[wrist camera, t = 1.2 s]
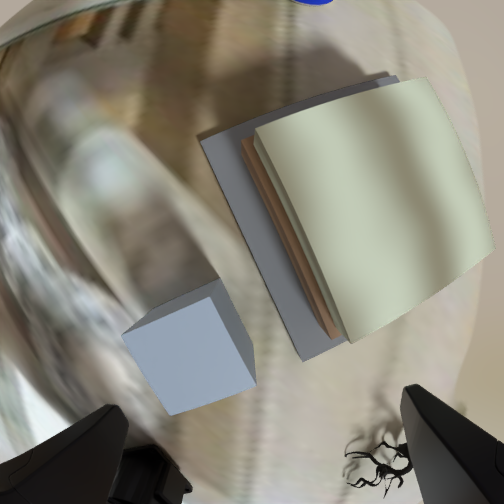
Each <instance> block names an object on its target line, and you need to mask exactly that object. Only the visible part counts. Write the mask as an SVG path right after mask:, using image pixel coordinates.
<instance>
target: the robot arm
mask: <svg viewBox="0 0 504 504" xmlns="http://www.w3.org/2000/svg"><path fill="white" fill-rule="evenodd" d="M400 411H401V416H402V421H403V426H404V430H405V435H406V440H407V446H408V450H409V455H410V458H411V462H412V465H413V468H414V471H415V474H416V477H417V481H418V484H419V487H420V491H421V494H422V498H423V501H424V504H504V444H503V443H502V442H501V441H497V439H496V438H495V437H493V436H492V435H490V434H489V433H487V432H486V431H484V430H483V429H482V428H480V427H479V426H477V425H476V424H474V423H473V422H471V421H470V420H469V419H467V418H466V417H464V416H463V415H461V414H460V413H458V412H457V411H456V410H454V409H453V408H451V407H450V406H448V405H447V404H446V403H444V402H443V401H441V400H440V399H438V398H437V397H436V396H434V395H433V394H431V393H430V392H428V391H427V390H426V389H424V388H423V387H421V386H420V385H418V384H412V385H409V386H405V387H404V388H403V392H402V398H401V404H400ZM128 427H129V423H128V420H127V418H126V417H125V415H124V414H123V412H122V410H121V409H120V407H119V406H118V405H115V404H106V405H104V406H103V407H101V408H99V409H98V410H96V411H95V412H93V413H91V414H90V415H88V416H87V417H85V418H83V419H82V420H80V421H78V422H77V423H75V424H73V425H72V426H70V427H68V428H67V429H65V430H63V431H62V432H60V433H58V434H56V435H55V436H53V437H51V438H50V439H48V440H46V441H44V442H43V443H41V444H39V445H37V446H36V447H34V448H32V449H30V450H28V451H27V452H25V453H23V454H21V455H19V456H17V457H15V458H13V459H11V460H8V461H6V462H4V463H1V464H0V504H181V503H182V499H183V494H186V493H191V492H192V490H193V487H192V486H191V485H190V484H189V483H188V482H187V480H186V479H185V478H184V477H183V476H182V475H181V474H180V472H179V471H178V470H177V469H176V468H175V467H174V466H173V464H171V462H170V461H169V460H168V459H167V458H166V457H165V455H164V454H163V453H162V452H161V450H160V449H159V448H158V447H157V446H155V445H147V446H142V447H137V448H132V449H126V450H123V448H124V444H125V440H126V435H127V431H128ZM153 450H154V451H153Z"/></svg>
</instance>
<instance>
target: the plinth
mask: <svg viewBox="0 0 504 504" xmlns="http://www.w3.org/2000/svg"><path fill="white" fill-rule="evenodd" d="M241 155H242V157H243V159H244V161H245V163H246V165H247V167H248V170H249V172H250V174H251V176H252V178H253V180H254V182H255V184H256V186H257V188H258V191H259V193H260V195H261V197H262V199H263V201H264V203H265V205H266V208H267V210H268V212H269V214H270V216H271V218H272V220H273V223H274V225H275V227H276V229H277V231H278V233H279V236H280V238H281V240H282V242H283V244H284V247H285V249H286V251H287V253H288V255H289V258H290V260H291V262H292V264H293V267H294V269H295V271H296V273H297V276H298V278H299V280H300V282H301V285H302V287H303V289H304V292H305V294H306V296H307V298H308V301H309V303H310V305H311V308H312V310H313V312H314V315H315V317H316V319H317V322H318V324H319V326H320V327H321V328H322V329H323V330H324V332H325V333H326V334H327V335H328V337H329V338H330V339H331V340H333V339H335V338H337V337H339V336H341V335H343V336H344V337H345V338H346V339H347V340H348V341H349V342H350V343H351V344H353V343H354V342H356V341H358V340H360V339H362V338H364V337H365V336H367V335H369V334H371V333H373V332H374V331H376V330H378V329H380V328H381V327H383V326H385V325H386V324H388V323H390V322H392V321H393V320H395V319H397V318H398V317H400V316H401V315H403V314H405V313H406V312H408V311H410V310H411V309H413V308H414V307H416V306H417V305H419V304H421V303H422V302H424V301H425V300H427V299H428V298H430V297H431V296H433V295H434V294H436V293H437V292H439V291H440V290H441V289H443V288H444V287H446V286H447V285H449V284H450V283H451V282H453V281H454V280H456V279H457V278H458V277H460V276H461V275H462V274H464V273H465V272H466V271H468V270H469V269H470V268H472V267H473V266H474V265H476V264H477V263H478V262H480V261H481V260H482V259H483V258H485V257H486V256H487V255H488V254H490V253H491V252H492V251H493V250H494V249H496V247H495V243H494V239H493V235H492V231H491V227H490V223H489V220H488V216H487V212H486V209H485V206H484V203H483V199H482V196H481V193H480V190H479V187H478V184H477V182H476V179H475V176H474V173H473V171H472V168H471V166H470V163H469V161H468V158H467V156H466V153H465V151H464V149H463V146H462V144H461V142H460V139H459V137H458V135H457V133H456V131H455V129H454V127H453V124H452V122H451V120H450V118H449V116H448V114H447V112H446V111H445V109H444V107H443V105H442V103H441V101H440V99H439V98H438V96H437V94H436V92H435V90H434V89H433V87H432V85H431V84H430V82H429V80H428V79H427V77H423V78H418V79H413V80H408V81H404V82H399V83H395V84H391V85H387V86H383V87H379V88H375V89H371V90H368V91H364V92H360V93H357V94H353V95H350V96H346V97H343V98H340V99H336V100H333V101H330V102H327V103H324V104H321V105H318V106H315V107H312V108H309V109H306V110H303V111H300V112H297V113H294V114H292V115H289V116H286V117H283V118H281V119H278V120H275V121H273V122H270V123H268V124H265V125H263V126H260V127H258V128H255V135H252V136H250V137H248V138H245V139H243V140H241Z"/></svg>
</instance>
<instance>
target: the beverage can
mask: <svg viewBox="0 0 504 504" xmlns="http://www.w3.org/2000/svg"><path fill="white" fill-rule="evenodd" d="M291 1H293V2H295V3H298V4H301V5H305V6H321V5H324V4H327V3H329V2H331V1H333V0H291Z"/></svg>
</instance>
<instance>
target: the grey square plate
mask: <svg viewBox="0 0 504 504" xmlns="http://www.w3.org/2000/svg"><path fill="white" fill-rule="evenodd" d="M399 82H400V81H399V80H398V78H397V76H396V75H393V76H389V77H384V78H380V79H376V80H372V81H368V82H364V83H360V84H356V85H352V86H349V87H345V88H342V89H338V90H335V91H331V92H328V93H325V94H321V95H318V96H315V97H312V98H309V99H306V100H303V101H300V102H297V103H294V104H291V105H288V106H285V107H283V108H280V109H277V110H274V111H272V112H269V113H266V114H264V115H261V116H259V117H256V118H253V119H251V120H248V121H246V122H243V123H241V124H239V125H236V126H234V127H231V128H229V129H227V130H224V131H222V132H220V133H218V134H215V135H213V136H211V137H209V138H206V139H204V140H202V141H200V142H201V145H202V147H203V149H204V151H205V153H206V155H207V158H208V160H209V162H210V164H211V166H212V168H213V171H214V173H215V175H216V177H217V179H218V181H219V183H220V186H221V188H222V190H223V192H224V194H225V196H226V199H227V201H228V203H229V205H230V207H231V209H232V211H233V214H234V216H235V218H236V220H237V222H238V224H239V227H240V229H241V231H242V233H243V235H244V237H245V239H246V242H247V244H248V246H249V248H250V250H251V252H252V255H253V257H254V259H255V261H256V263H257V265H258V267H259V270H260V272H261V274H262V276H263V278H264V280H265V283H266V285H267V287H268V289H269V291H270V293H271V295H272V298H273V300H274V302H275V304H276V306H277V308H278V311H279V313H280V315H281V317H282V319H283V321H284V323H285V326H286V328H287V330H288V332H289V334H290V336H291V339H292V341H293V343H294V345H295V347H296V349H297V351H298V354H299V356H300V358H301V360H302V362H304V361H307V360H309V359H311V358H313V357H315V356H317V355H319V354H321V353H323V352H325V351H327V350H329V349H331V348H333V347H335V346H337V345H339V344H341V343H343V342H345V341H347V339H346V338H345V337H344V336H343V335H341V336H339V337H337V338H335V339H333V340H331V339H330V338H329V337H328V335H327V334H326V333H325V332H324V330H323V329H322V328H321V327H320V326H319V324H318V322H317V319H316V317H315V315H314V312H313V310H312V308H311V305H310V303H309V301H308V298H307V296H306V294H305V292H304V289H303V287H302V285H301V282H300V280H299V278H298V276H297V273H296V271H295V269H294V267H293V264H292V262H291V260H290V258H289V255H288V253H287V251H286V249H285V247H284V244H283V242H282V240H281V238H280V236H279V233H278V231H277V229H276V227H275V225H274V223H273V220H272V218H271V216H270V214H269V212H268V210H267V208H266V205H265V203H264V201H263V199H262V197H261V195H260V193H259V191H258V188H257V186H256V184H255V182H254V180H253V178H252V176H251V174H250V172H249V170H248V167H247V165H246V163H245V161H244V159H243V157H242V155H241V140H243V139H245V138H248V137H250V136H252V135H255V128H258V127H260V126H263V125H265V124H268V123H270V122H273V121H275V120H278V119H281V118H283V117H286V116H289V115H292V114H294V113H297V112H300V111H303V110H306V109H309V108H312V107H315V106H318V105H321V104H324V103H327V102H330V101H333V100H336V99H340V98H343V97H346V96H350V95H353V94H357V93H360V92H364V91H368V90H371V89H375V88H379V87H383V86H387V85H391V84H395V83H399Z"/></svg>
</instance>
